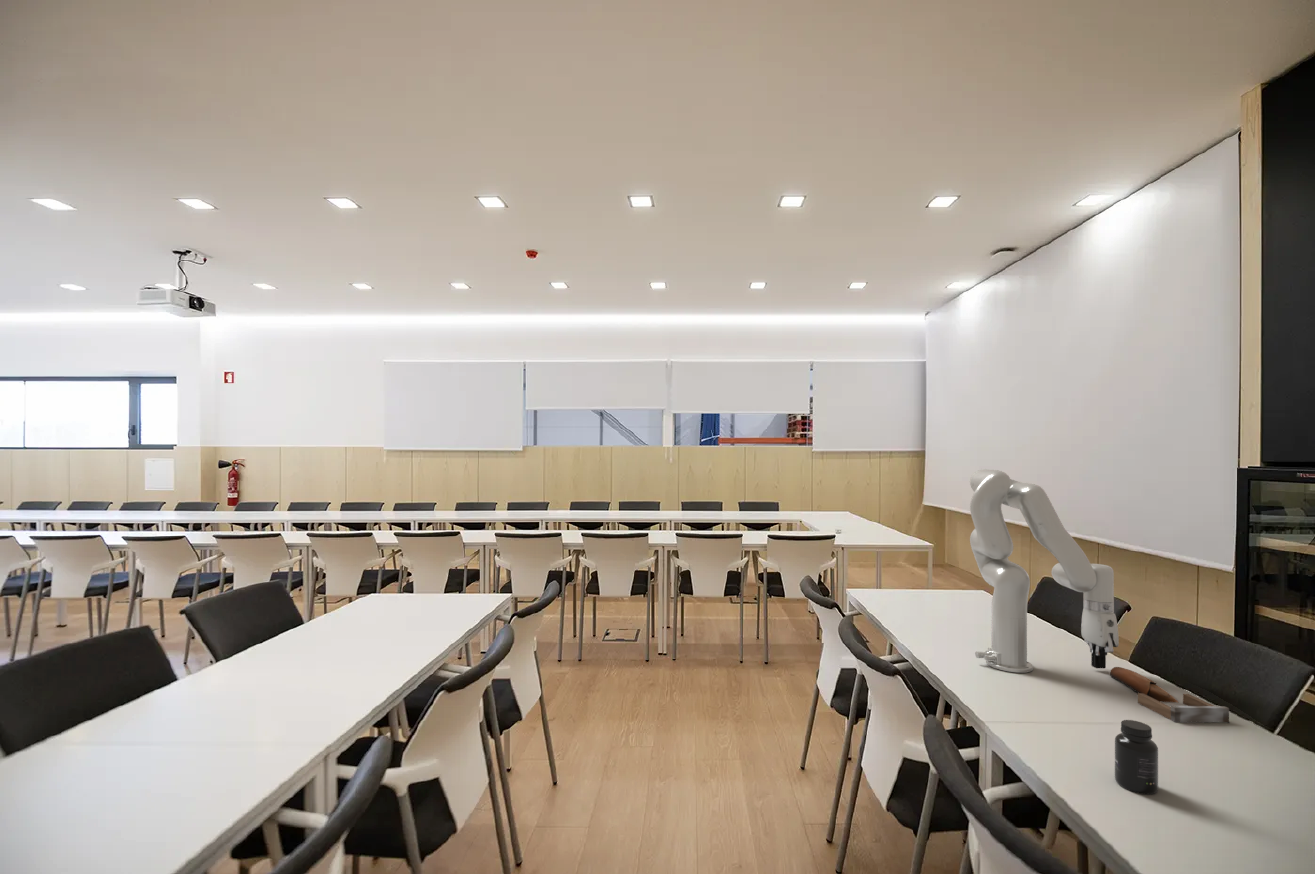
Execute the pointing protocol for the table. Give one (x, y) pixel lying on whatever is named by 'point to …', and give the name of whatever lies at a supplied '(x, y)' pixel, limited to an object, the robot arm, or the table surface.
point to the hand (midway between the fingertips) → (1098, 667)
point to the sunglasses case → (1141, 684)
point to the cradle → (1187, 709)
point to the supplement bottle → (1136, 758)
